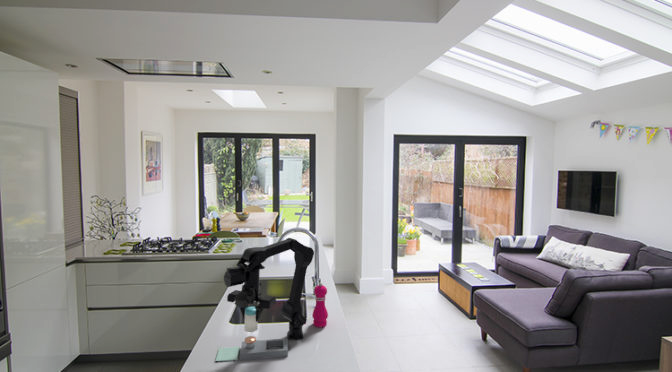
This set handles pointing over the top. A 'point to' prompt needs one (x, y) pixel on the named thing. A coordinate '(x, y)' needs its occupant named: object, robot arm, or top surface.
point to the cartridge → (250, 319)
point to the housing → (264, 349)
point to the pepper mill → (320, 306)
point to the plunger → (250, 342)
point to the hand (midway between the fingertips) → (251, 320)
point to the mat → (227, 354)
